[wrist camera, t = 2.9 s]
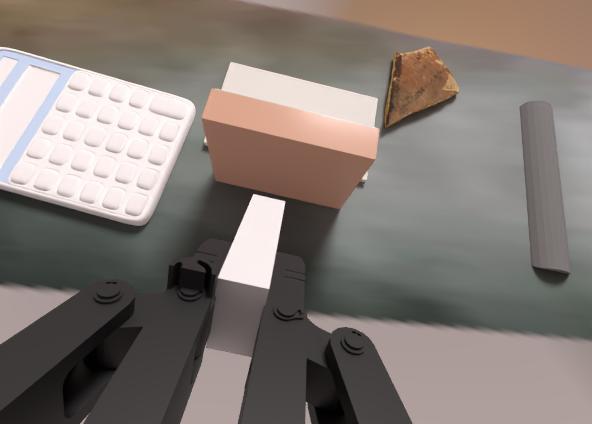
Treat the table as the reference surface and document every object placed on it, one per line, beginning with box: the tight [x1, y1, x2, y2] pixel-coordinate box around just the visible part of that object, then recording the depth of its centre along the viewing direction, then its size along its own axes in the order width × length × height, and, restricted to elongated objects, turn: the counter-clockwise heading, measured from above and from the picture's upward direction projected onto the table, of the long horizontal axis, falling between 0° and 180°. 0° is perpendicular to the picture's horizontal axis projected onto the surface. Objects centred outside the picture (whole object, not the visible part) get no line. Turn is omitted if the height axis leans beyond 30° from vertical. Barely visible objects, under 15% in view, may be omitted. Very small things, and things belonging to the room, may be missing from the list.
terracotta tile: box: [202, 88, 379, 209], centre depth 28 cm, size 12×3×10 cm, turn 79°
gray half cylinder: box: [520, 101, 571, 274], centre depth 37 cm, size 4×20×2 cm, turn 170°
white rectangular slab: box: [204, 62, 378, 183], centre depth 35 cm, size 16×10×1 cm, turn 79°
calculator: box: [0, 47, 195, 226], centre depth 32 cm, size 13×20×2 cm, turn 76°
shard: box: [384, 47, 459, 128], centre depth 39 cm, size 11×8×2 cm
